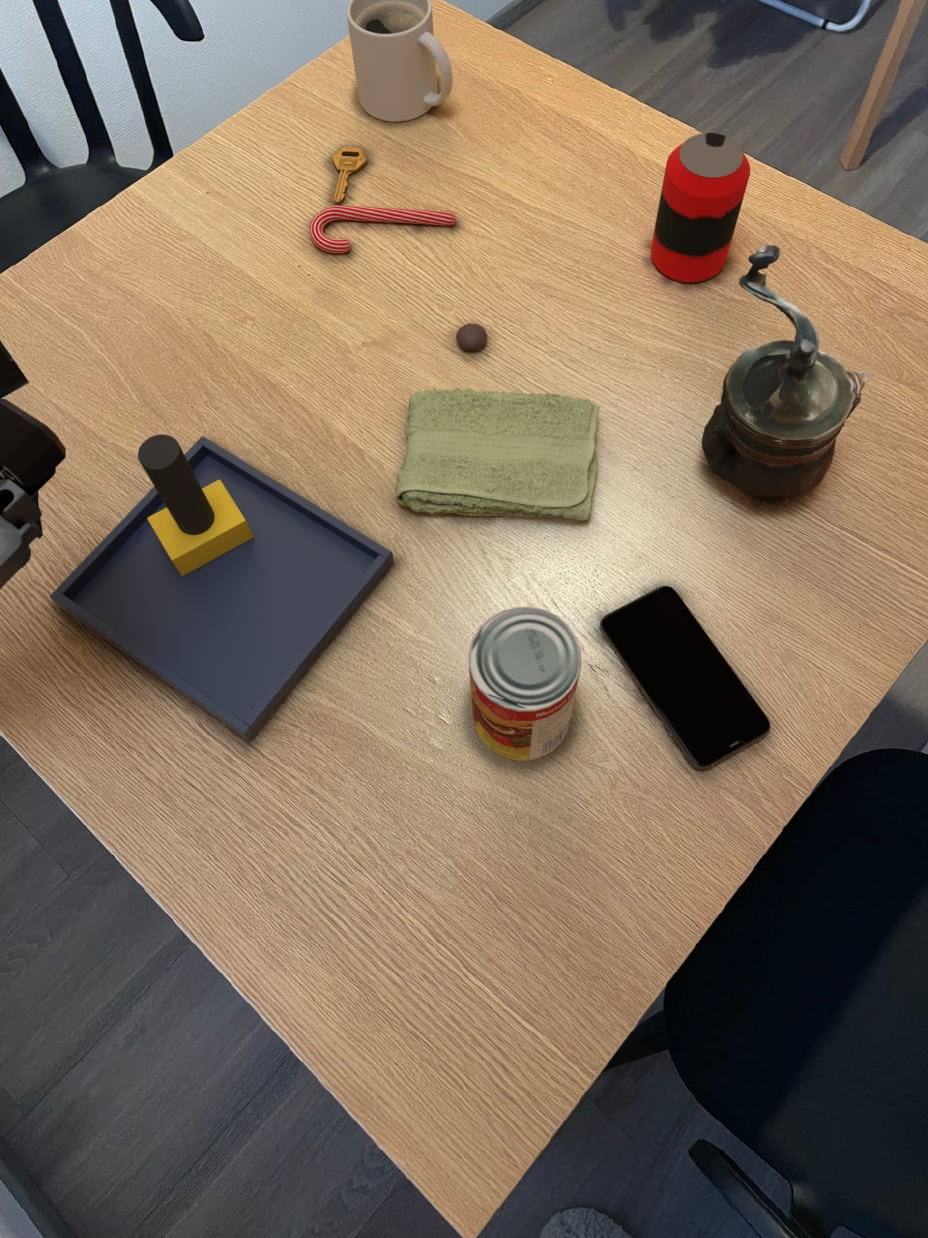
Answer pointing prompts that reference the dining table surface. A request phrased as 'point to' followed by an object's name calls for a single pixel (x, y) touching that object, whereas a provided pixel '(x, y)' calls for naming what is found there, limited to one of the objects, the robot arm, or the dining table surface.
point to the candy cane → (370, 215)
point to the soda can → (699, 207)
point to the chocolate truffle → (471, 336)
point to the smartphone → (684, 677)
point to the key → (347, 168)
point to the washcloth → (499, 454)
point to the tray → (229, 594)
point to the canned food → (523, 681)
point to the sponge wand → (190, 508)
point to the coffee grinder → (779, 406)
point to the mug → (397, 58)
